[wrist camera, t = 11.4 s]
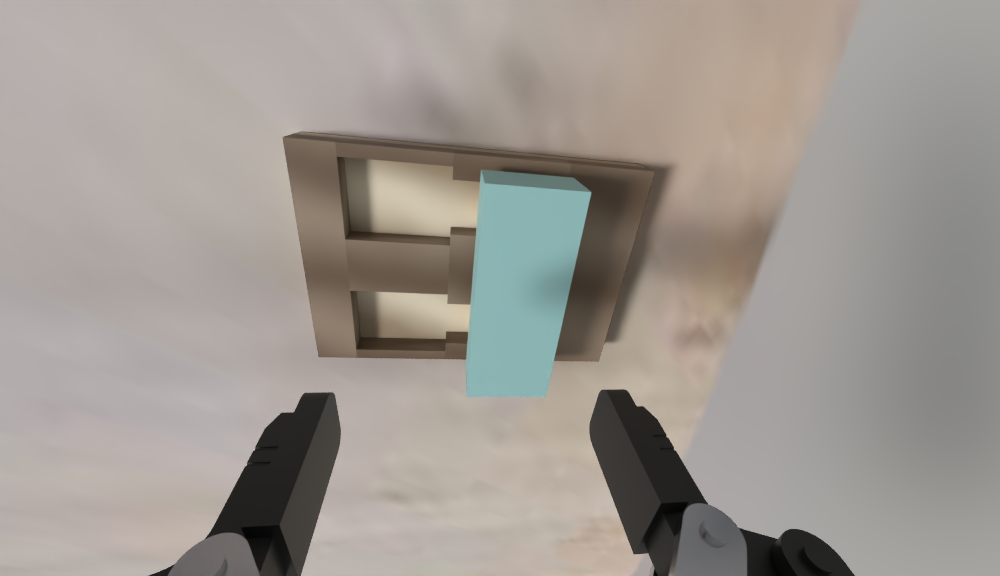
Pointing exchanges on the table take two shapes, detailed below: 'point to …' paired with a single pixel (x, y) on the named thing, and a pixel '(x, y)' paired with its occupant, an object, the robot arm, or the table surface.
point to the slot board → (437, 242)
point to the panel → (521, 280)
